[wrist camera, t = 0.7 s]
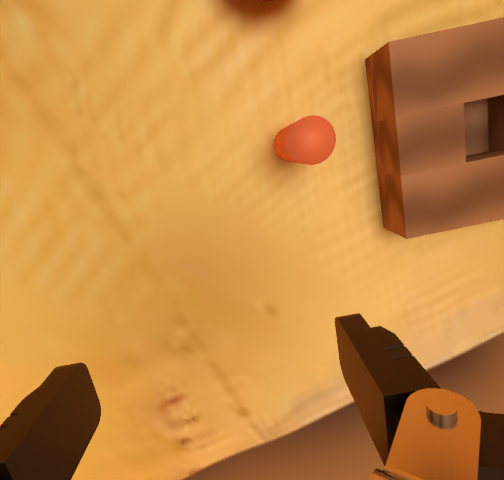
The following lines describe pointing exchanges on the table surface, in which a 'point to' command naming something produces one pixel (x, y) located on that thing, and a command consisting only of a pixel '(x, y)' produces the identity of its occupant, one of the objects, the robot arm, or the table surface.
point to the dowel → (306, 141)
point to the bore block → (439, 128)
